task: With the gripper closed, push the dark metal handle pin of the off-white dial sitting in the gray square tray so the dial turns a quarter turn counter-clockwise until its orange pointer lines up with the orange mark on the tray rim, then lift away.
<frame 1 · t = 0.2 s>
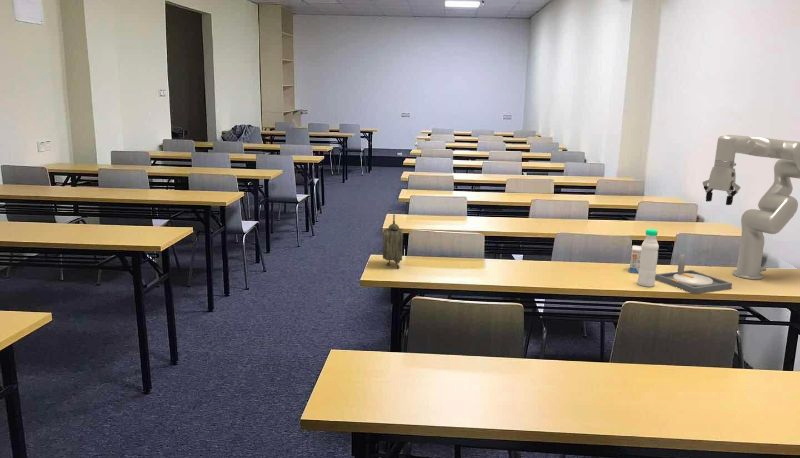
hand: (718, 203, 269), 36 cm above the table, tool pointing down, fingers open, 9 cm apart
water bottle: (645, 285, 268), on the table
dial: (693, 269, 269), point 6 cm above the table, hinge at 0.0°
ink box: (638, 271, 289), on the table
gray square tray: (692, 284, 271), on the table
ribbed lidded container: (392, 266, 292), on the table
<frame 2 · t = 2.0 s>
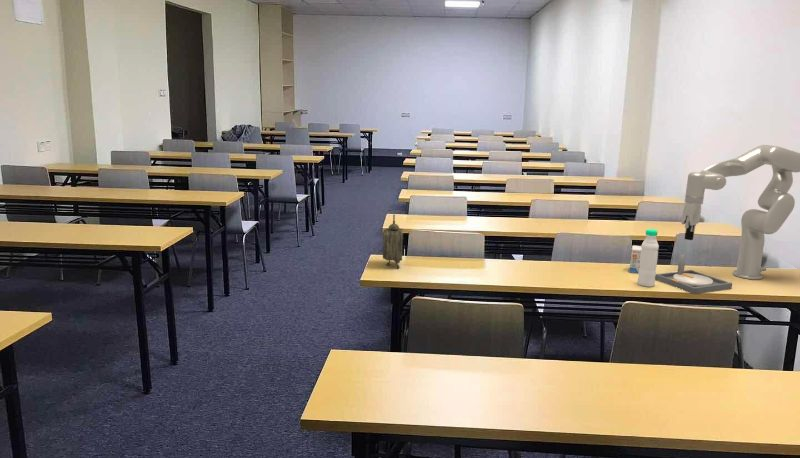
hand: (688, 239, 277), 18 cm above the table, tool pointing down, fingers closed
nothing on the table moved.
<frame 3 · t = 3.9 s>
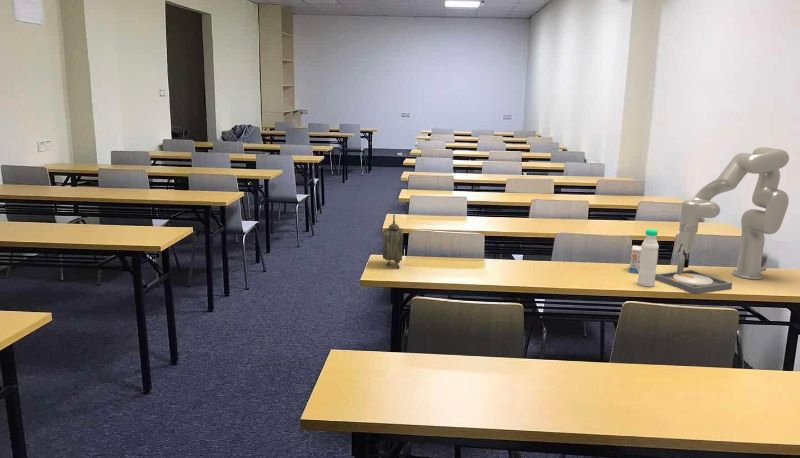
hand: (684, 266, 279), 5 cm above the table, tool pointing down, fingers closed
dial: (693, 269, 269), point 7 cm above the table, hinge at 3.2°, touching gripper
everything else where it was.
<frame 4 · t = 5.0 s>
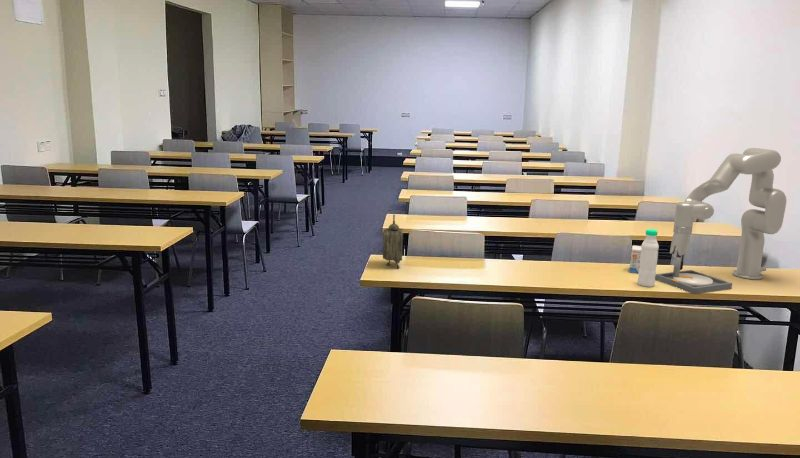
hand: (678, 269, 275), 5 cm above the table, tool pointing down, fingers closed
dial: (693, 270, 269), point 6 cm above the table, hinge at 50.4°, touching gripper
everything else where it was.
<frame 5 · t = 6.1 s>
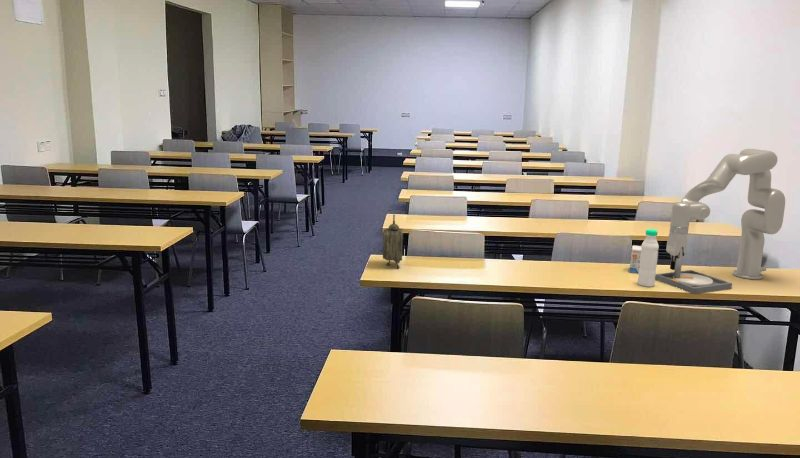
hand: (674, 269, 274), 5 cm above the table, tool pointing down, fingers closed
dial: (693, 270, 269), point 6 cm above the table, hinge at 64.0°, touching gripper
everything else where it was.
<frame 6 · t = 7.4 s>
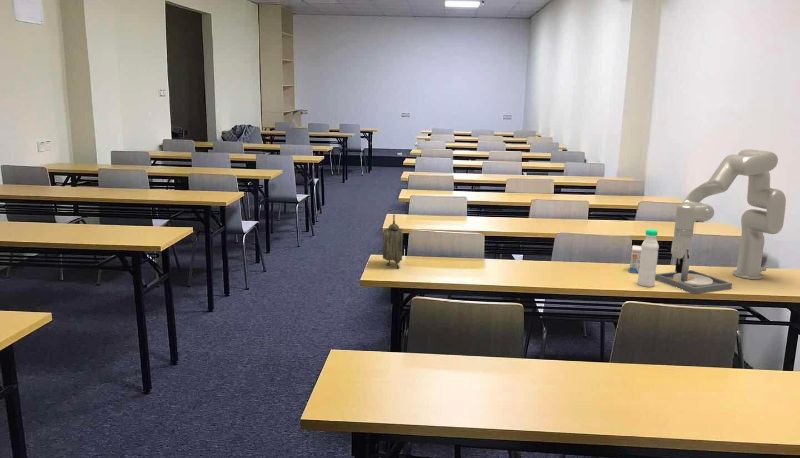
hand: (679, 272, 270), 5 cm above the table, tool pointing down, fingers closed
dial: (693, 270, 269), point 7 cm above the table, hinge at 101.5°, touching gripper
everything else where it was.
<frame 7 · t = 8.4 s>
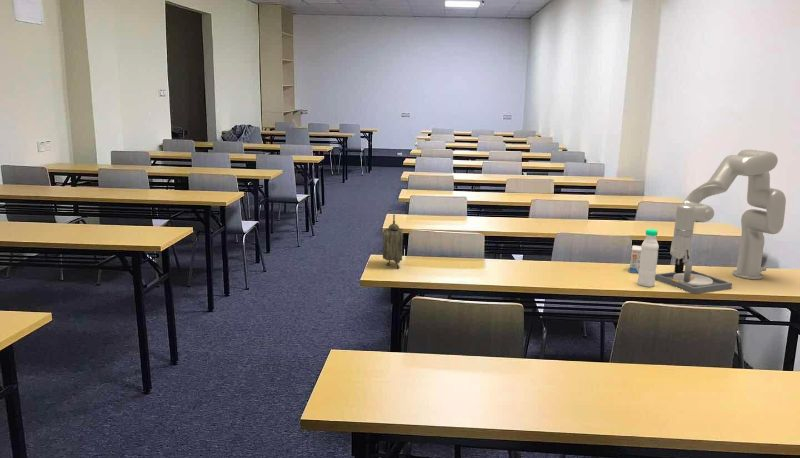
hand: (678, 272, 270), 5 cm above the table, tool pointing down, fingers closed
dial: (693, 270, 269), point 6 cm above the table, hinge at 112.0°
everything else where it was.
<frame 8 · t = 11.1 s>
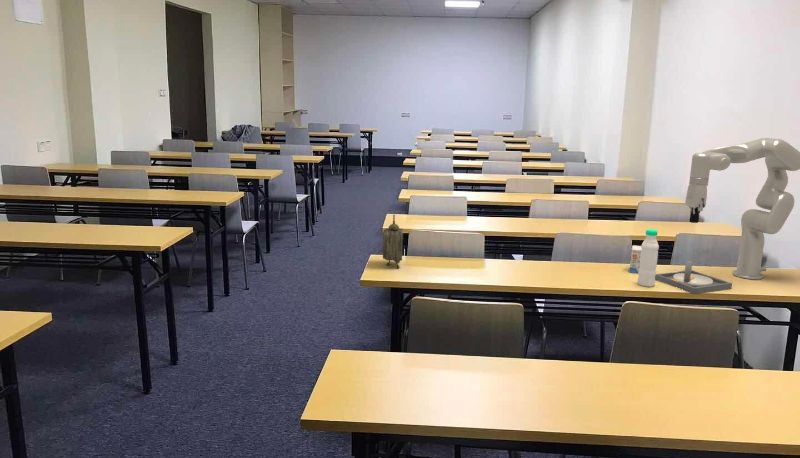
hand: (693, 222, 270), 27 cm above the table, tool pointing down, fingers closed
nothing on the table moved.
at the end: dial at +112° (first picture: +0°) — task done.
